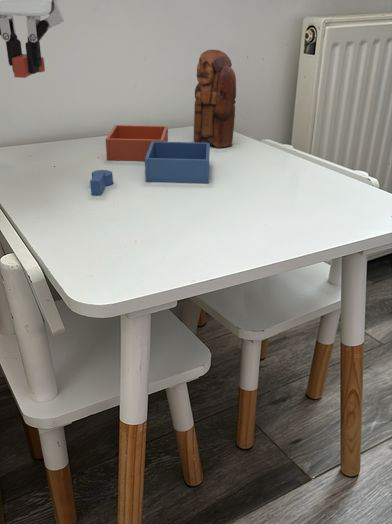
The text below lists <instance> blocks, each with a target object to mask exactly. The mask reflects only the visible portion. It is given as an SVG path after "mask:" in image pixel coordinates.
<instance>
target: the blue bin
mask: <svg viewBox="0 0 392 524" xmlns="http://www.w3.org/2000/svg"><path fill="white" fill-rule="evenodd" d="M210 147H211V145H210V143H198V142H195V141H193V142H191V141H168V142H158V141H152V142H151V144H150V147H149V149H148V152H147V155H146V157H145V161H144V174H145V175H144V176H145V182H147V183H182V184H183V183H185V184H186V183H188V184H209V182H210V181H209V180H210V179H209V178H210V154H211V153H210V152H211V151H210V149H211V148H210Z"/></svg>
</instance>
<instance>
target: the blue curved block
mask: <svg viewBox="0 0 392 524" xmlns="http://www.w3.org/2000/svg"><path fill="white" fill-rule="evenodd" d="M89 183H90V194H91V196H102V194H103V192H104V190H105V188H106V187H108V186H111V185H113V183H114V175H113V171H111V170H108V169H97V170H93V171H92V172H91V179H90V181H89Z"/></svg>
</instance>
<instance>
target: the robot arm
mask: <svg viewBox="0 0 392 524" xmlns="http://www.w3.org/2000/svg"><path fill="white" fill-rule="evenodd" d="M47 15H49V16H48V17H46V18H44V19H42V20H41V17H43V16H44V17H45V16H47ZM14 16H18V17H19V16H22V17H25V18H26V27H27V37H26V38H27V42H25V52H26V53H25V54H27V59H28V67H29V73H31V75H35V74H38V73H40V72H39V67H41V66H42V60H41V57H42V51H41V43H40V41H41V40H42V38H43V37H44V36H45V34H46V33H47V32H48V31H49V29H52V28H54V27H56V26H58V25H59V26H60V25H61V24H63V23H64V21H65V20H64V16H63V14H62V11H61V9H60V7H59V0H0V36H1V39H2V40H3V41H4V42H5V46H6V47H5V48H6V52H7V60H8V65H9V66H11V68H12V73H13V74H14V70H13V62H12V58H14V57H17V56H19V55H22V54H23V50H22V42H21V41H20V39H18V35H17V33H16V26H15V20H14ZM37 72H38V73H37Z"/></svg>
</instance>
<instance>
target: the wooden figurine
mask: <svg viewBox="0 0 392 524" xmlns="http://www.w3.org/2000/svg"><path fill="white" fill-rule="evenodd" d="M232 66H233V64H232V61H231V58H230V57H229V56H228V55H227V54H226V53H225V52H224V51H222V50H220V49H207V50H205V51H203V52H201V54H200V55H199V58H198V63H197V64H196V80H197V82H198V83H197V84H196V86H195V88H194V99H195V100H194V115H193V117H194V118H193V142H198V143H210V146H214V147H215V148H217V149H218V148H219V149H221V148H225V147H230V146H232V145H233V142H234V141H233V140H234V128H235V119H236V105H235V104H236V103H237V102H236V97H237V78H236V77H237V76H236V73H235V71H234V69H233V68H232Z"/></svg>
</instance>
